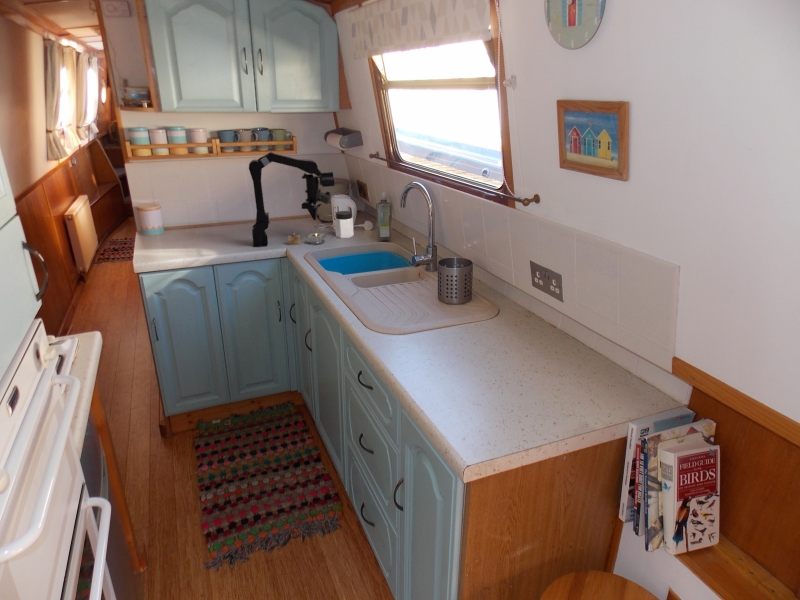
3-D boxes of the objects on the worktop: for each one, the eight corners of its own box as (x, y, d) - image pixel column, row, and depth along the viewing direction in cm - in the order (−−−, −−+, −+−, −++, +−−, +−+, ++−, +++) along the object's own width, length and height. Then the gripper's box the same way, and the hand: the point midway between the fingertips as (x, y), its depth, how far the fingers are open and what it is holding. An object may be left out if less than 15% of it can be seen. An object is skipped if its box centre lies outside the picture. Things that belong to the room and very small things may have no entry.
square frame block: (307, 241, 271) (307, 236, 270) (311, 238, 277) (311, 233, 277) (320, 242, 270) (320, 237, 269) (324, 238, 276) (324, 233, 276)
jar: (356, 236, 285) (355, 212, 280) (343, 239, 280) (342, 215, 275) (346, 233, 291) (345, 209, 287) (333, 235, 286) (331, 212, 282)
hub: (309, 245, 270) (308, 235, 268) (307, 241, 277) (306, 231, 275) (325, 244, 272) (325, 234, 270) (323, 239, 279) (322, 230, 277)
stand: (288, 245, 270) (287, 233, 268) (288, 243, 272) (287, 232, 270) (300, 244, 272) (299, 233, 270) (300, 243, 274) (299, 231, 272)
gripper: (323, 191, 257) (325, 225, 263) (334, 184, 274) (336, 215, 280) (299, 191, 259) (302, 224, 265) (312, 183, 276) (314, 215, 282)
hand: (314, 219), depth 273 cm, fingers closed
